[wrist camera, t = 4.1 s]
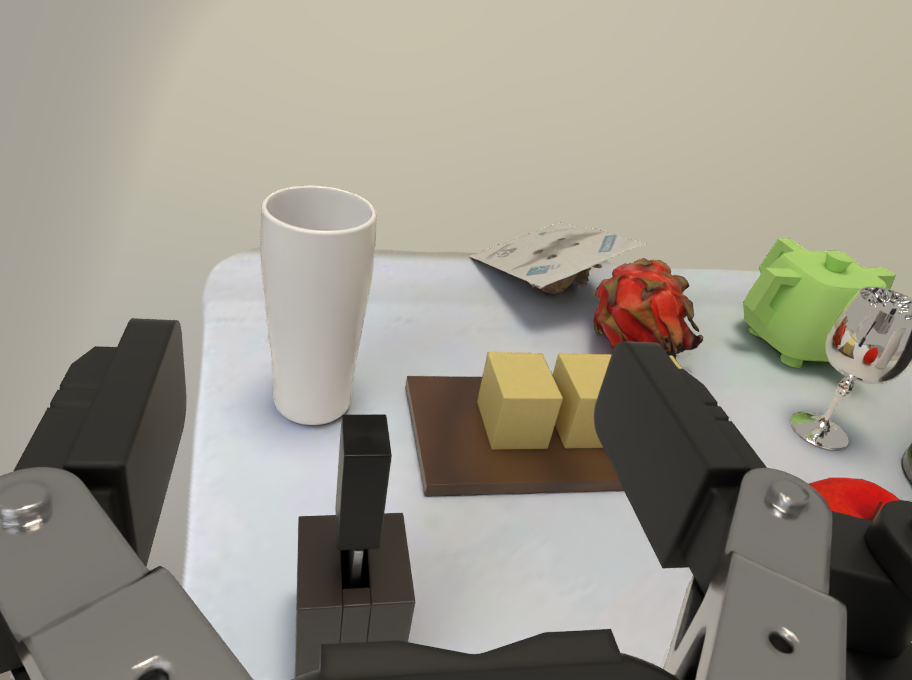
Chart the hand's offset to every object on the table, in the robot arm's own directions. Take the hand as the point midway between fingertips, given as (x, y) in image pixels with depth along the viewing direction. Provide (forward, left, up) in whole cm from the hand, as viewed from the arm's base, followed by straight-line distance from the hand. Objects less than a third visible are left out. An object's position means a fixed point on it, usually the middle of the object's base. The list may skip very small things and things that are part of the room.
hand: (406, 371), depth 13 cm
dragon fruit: (-15, -41, -24) cm, 50 cm away
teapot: (-32, -48, -24) cm, 62 cm away
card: (-10, -49, -24) cm, 56 cm away
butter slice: (-5, -27, -23) cm, 36 cm away
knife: (+2, -10, -24) cm, 26 cm away
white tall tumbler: (+9, -26, -24) cm, 37 cm away
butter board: (-8, -28, -24) cm, 38 cm away
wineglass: (-30, -35, -24) cm, 52 cm away
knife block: (+2, -10, -24) cm, 26 cm away
